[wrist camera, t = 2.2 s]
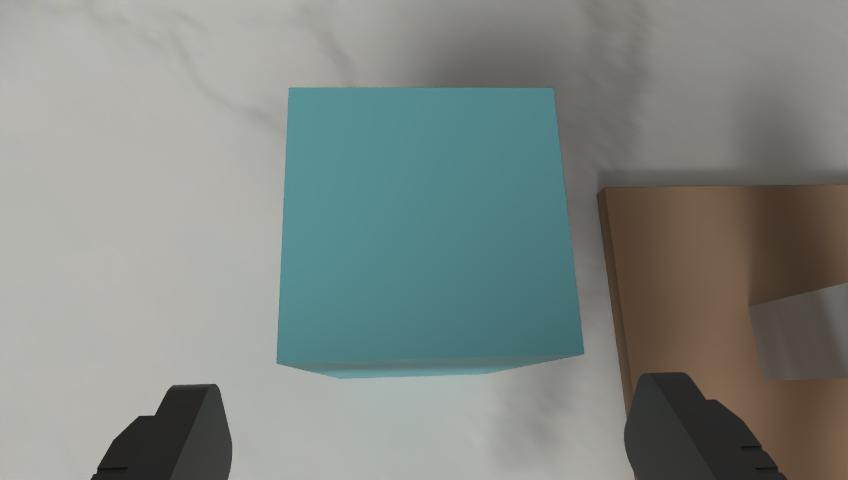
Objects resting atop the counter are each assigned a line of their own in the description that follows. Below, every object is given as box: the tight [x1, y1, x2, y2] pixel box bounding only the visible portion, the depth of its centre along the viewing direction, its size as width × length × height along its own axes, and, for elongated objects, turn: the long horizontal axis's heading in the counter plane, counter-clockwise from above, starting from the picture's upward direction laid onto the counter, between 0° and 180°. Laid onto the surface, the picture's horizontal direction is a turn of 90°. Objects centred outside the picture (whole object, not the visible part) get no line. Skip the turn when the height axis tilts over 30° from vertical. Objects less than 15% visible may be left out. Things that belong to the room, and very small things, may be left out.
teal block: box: [277, 88, 584, 379], centre depth 14 cm, size 5×5×10 cm
